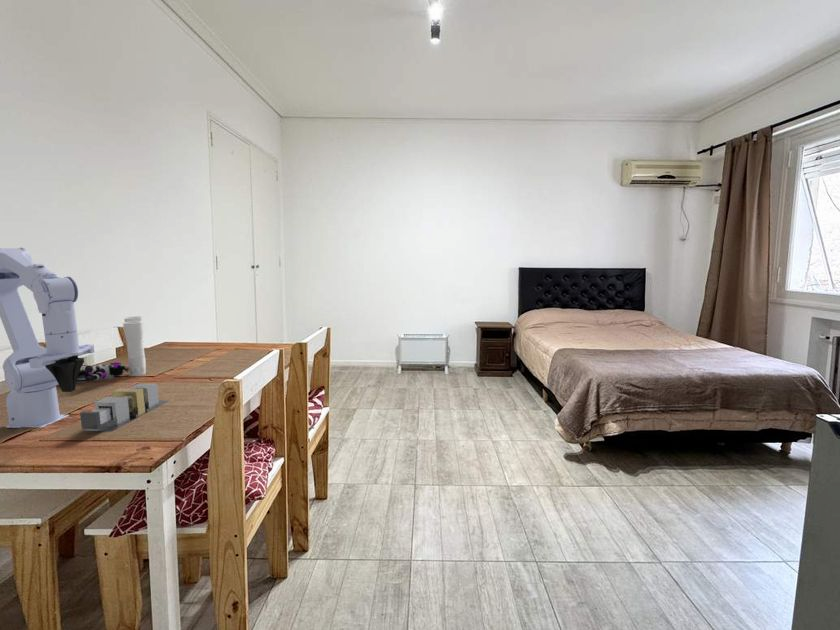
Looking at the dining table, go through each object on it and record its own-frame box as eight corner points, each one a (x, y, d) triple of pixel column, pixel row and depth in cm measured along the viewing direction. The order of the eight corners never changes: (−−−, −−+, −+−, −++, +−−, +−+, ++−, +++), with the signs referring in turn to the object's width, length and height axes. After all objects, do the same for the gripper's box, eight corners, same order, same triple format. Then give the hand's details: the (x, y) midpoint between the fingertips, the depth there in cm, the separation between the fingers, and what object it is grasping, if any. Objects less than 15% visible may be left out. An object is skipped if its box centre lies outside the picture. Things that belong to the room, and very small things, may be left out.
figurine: (51, 356, 153) (143, 354, 158) (52, 377, 153) (144, 373, 158) (1, 369, 129) (111, 365, 135) (2, 392, 130) (112, 388, 135)
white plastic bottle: (129, 365, 163) (124, 317, 160) (147, 363, 166) (142, 316, 163) (128, 377, 149) (122, 324, 146) (147, 374, 151) (142, 322, 149)
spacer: (114, 415, 113) (111, 391, 112) (122, 412, 115) (119, 388, 114) (138, 416, 112) (136, 391, 111) (145, 412, 115) (143, 388, 114)
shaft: (81, 428, 101) (79, 412, 101) (140, 400, 120) (139, 386, 120) (97, 429, 101) (95, 413, 101) (153, 400, 120) (152, 387, 119)
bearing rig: (83, 432, 104) (80, 406, 103) (145, 402, 125) (143, 379, 124) (111, 433, 103) (108, 407, 102) (169, 402, 124) (167, 380, 123)
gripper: (48, 338, 92) (56, 402, 94) (103, 326, 106) (109, 381, 108) (16, 338, 92) (25, 401, 94) (75, 326, 107) (82, 381, 109)
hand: (68, 391), depth 101 cm, fingers closed
